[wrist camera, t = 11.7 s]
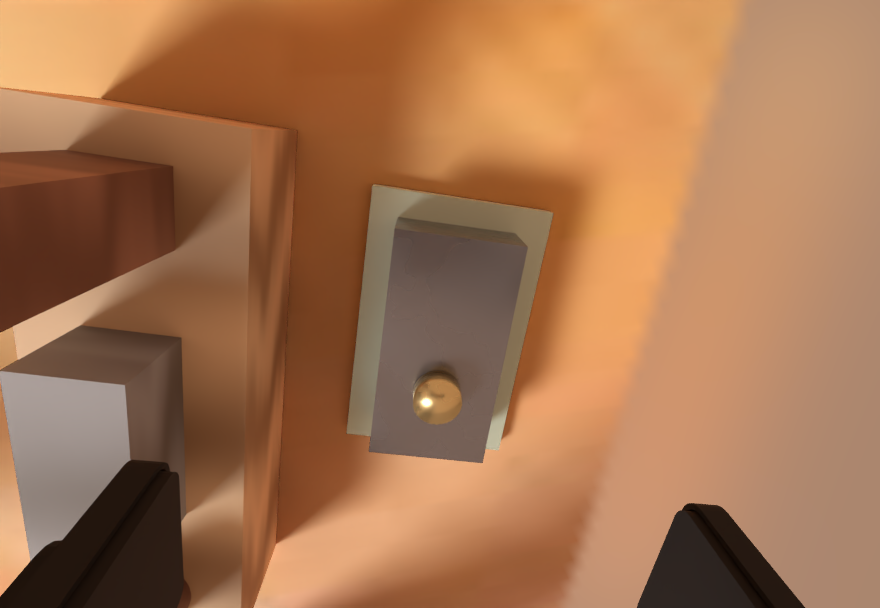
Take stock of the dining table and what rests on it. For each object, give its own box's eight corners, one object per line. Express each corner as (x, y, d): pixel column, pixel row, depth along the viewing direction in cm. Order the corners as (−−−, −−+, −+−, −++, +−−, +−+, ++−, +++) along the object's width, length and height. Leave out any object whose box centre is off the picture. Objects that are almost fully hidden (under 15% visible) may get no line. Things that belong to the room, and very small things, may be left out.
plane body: (99, 98, 17) (-454, 36, 6) (297, 130, 18) (102, 124, 7) (132, 532, 24) (-111, 864, 13) (275, 544, 24) (158, 873, 13)
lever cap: (397, 216, 18) (393, 232, 15) (515, 233, 19) (533, 252, 16) (374, 417, 21) (366, 464, 18) (476, 428, 22) (484, 476, 19)
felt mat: (373, 184, 18) (372, 185, 18) (549, 211, 19) (553, 213, 18) (348, 426, 22) (346, 433, 21) (496, 442, 23) (498, 450, 22)
